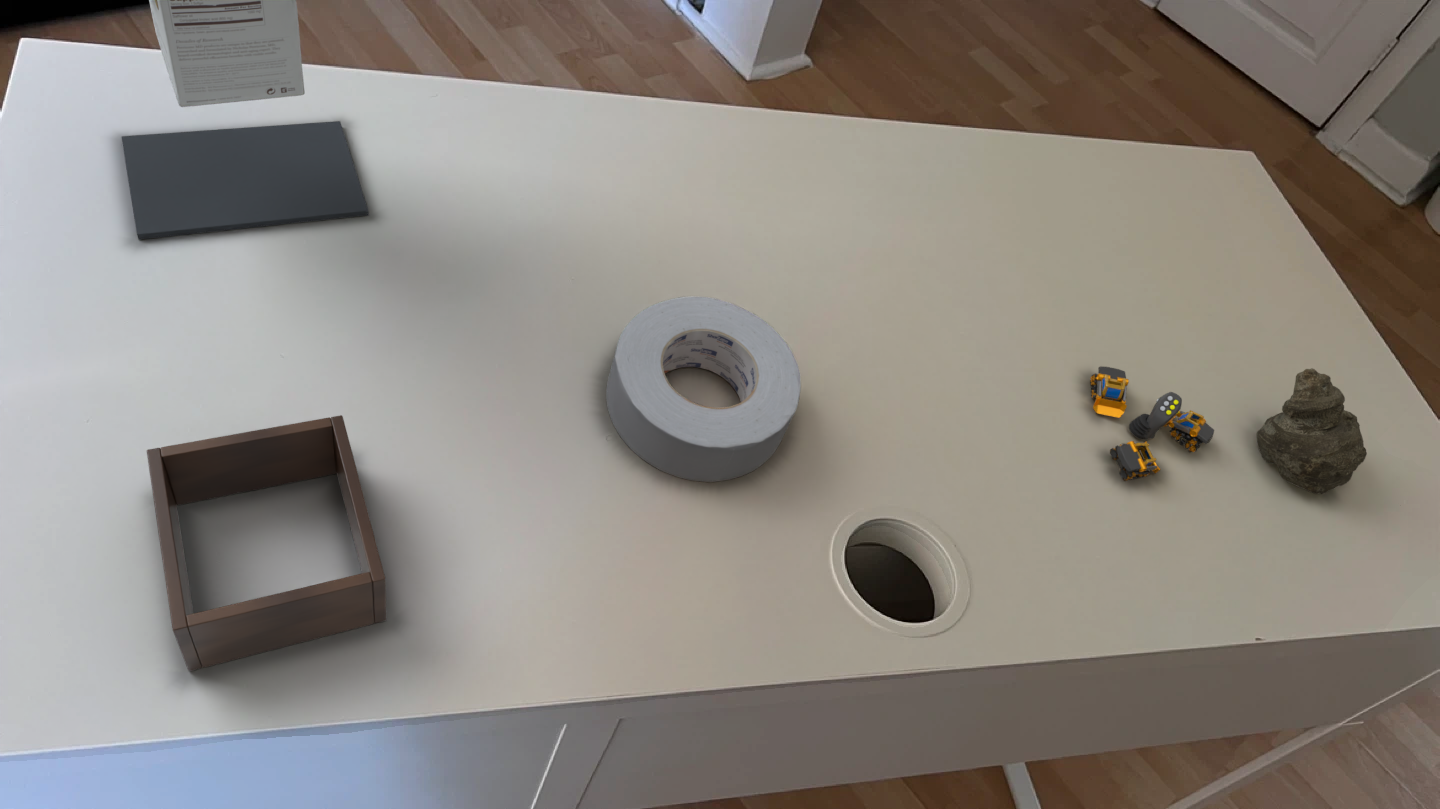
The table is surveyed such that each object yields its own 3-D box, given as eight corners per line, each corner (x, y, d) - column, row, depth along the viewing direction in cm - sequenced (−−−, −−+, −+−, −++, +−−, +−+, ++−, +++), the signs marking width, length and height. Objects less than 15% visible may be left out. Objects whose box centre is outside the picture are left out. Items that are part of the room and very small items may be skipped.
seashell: (1338, 354, 103) (1256, 354, 100) (1448, 396, 92) (1361, 397, 89) (1304, 462, 107) (1224, 465, 103) (1406, 514, 96) (1321, 518, 93)
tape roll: (796, 487, 86) (814, 452, 82) (607, 477, 82) (618, 439, 78) (773, 341, 95) (789, 303, 91) (603, 326, 91) (612, 286, 87)
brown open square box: (188, 672, 66) (172, 630, 62) (162, 498, 73) (146, 449, 68) (386, 621, 71) (385, 578, 67) (345, 462, 78) (342, 414, 73)
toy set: (1052, 437, 96) (1078, 405, 92) (1095, 368, 103) (1121, 336, 99) (1170, 515, 93) (1201, 486, 90) (1206, 439, 100) (1236, 409, 97)
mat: (138, 239, 86) (136, 234, 85) (122, 141, 91) (121, 135, 91) (368, 215, 93) (368, 210, 92) (340, 125, 99) (340, 120, 98)
